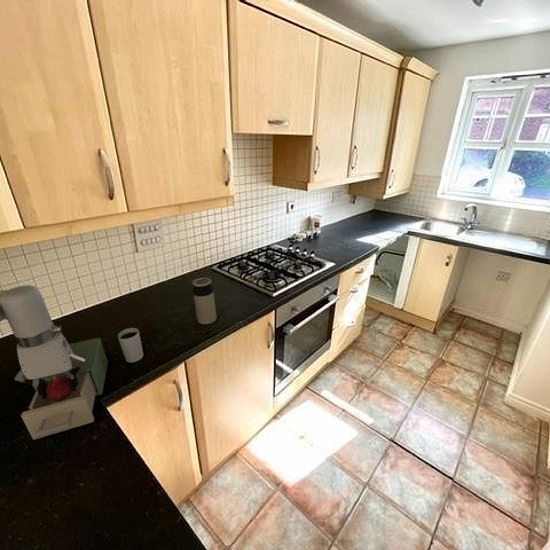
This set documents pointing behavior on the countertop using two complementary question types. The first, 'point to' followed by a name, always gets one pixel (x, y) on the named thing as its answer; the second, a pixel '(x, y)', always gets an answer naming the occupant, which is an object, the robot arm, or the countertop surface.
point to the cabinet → (89, 361)
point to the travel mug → (204, 301)
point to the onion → (58, 388)
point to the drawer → (62, 409)
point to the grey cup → (131, 344)
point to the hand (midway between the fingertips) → (60, 390)
